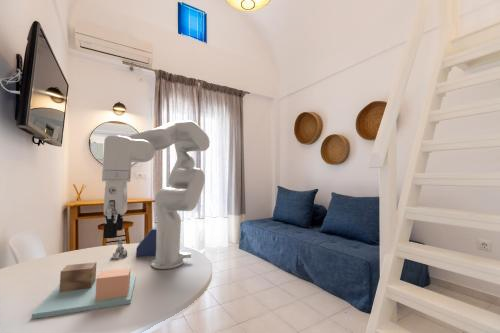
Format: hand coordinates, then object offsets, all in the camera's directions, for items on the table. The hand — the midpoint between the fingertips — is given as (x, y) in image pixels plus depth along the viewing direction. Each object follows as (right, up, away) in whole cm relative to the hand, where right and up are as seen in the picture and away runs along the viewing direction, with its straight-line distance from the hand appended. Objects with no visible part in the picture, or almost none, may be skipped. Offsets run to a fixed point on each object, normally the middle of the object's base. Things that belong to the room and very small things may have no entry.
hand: (113, 233), depth 70 cm
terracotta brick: (+1, -17, -1) cm, 17 cm away
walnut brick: (-13, -17, +3) cm, 22 cm away
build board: (-6, -19, 0) cm, 20 cm away
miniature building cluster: (-15, -21, +34) cm, 42 cm away
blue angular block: (-6, -21, +42) cm, 47 cm away
